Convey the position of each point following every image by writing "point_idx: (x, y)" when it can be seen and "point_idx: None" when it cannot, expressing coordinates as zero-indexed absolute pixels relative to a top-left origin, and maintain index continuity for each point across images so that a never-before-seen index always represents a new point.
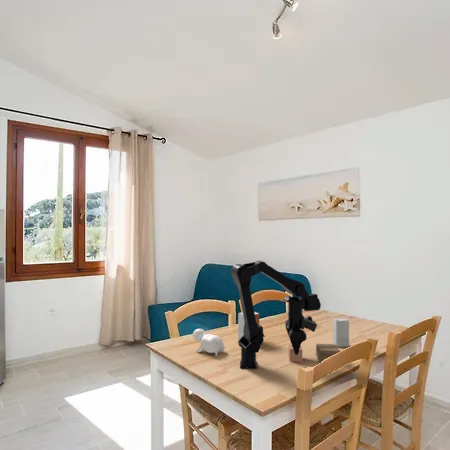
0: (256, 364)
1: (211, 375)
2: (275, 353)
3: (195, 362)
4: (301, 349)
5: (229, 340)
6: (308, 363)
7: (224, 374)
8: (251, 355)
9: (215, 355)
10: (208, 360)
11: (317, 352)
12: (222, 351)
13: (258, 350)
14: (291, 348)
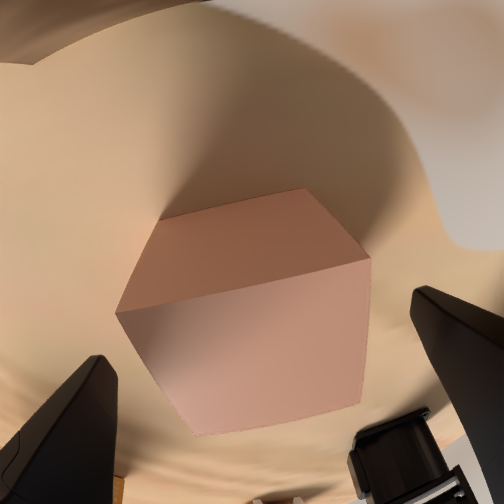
0: (400, 424)
1: (439, 447)
2: None
3: (354, 493)
4: (362, 275)
5: (129, 497)
6: (334, 116)
7: (442, 437)
8: (444, 462)
9: (299, 498)
10: (339, 491)
11: (87, 6)
12: (261, 502)
13: (461, 471)
14: (331, 397)
